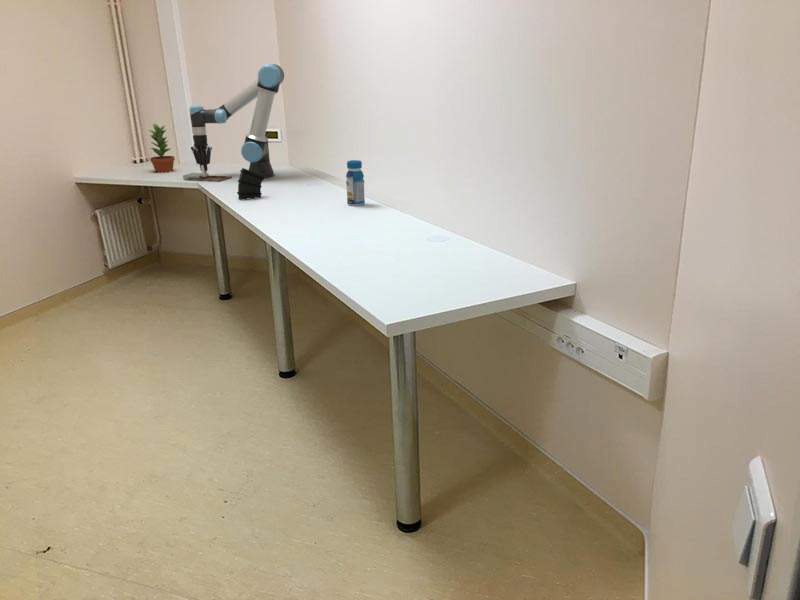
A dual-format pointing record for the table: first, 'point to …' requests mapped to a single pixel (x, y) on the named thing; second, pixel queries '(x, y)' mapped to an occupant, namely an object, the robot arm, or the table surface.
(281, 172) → the table surface
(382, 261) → the table surface
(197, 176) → the cover plate
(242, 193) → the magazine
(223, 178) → the brown wooden tray
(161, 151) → the potted plant
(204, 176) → the robot arm
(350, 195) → the beverage bottle
